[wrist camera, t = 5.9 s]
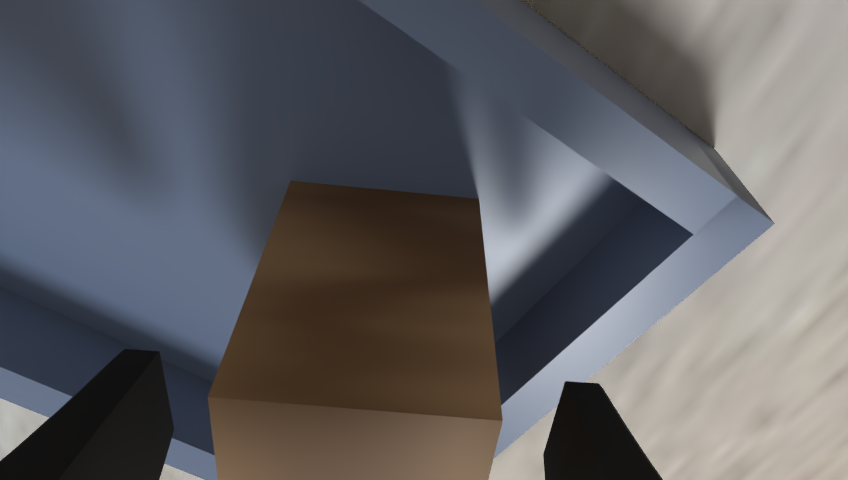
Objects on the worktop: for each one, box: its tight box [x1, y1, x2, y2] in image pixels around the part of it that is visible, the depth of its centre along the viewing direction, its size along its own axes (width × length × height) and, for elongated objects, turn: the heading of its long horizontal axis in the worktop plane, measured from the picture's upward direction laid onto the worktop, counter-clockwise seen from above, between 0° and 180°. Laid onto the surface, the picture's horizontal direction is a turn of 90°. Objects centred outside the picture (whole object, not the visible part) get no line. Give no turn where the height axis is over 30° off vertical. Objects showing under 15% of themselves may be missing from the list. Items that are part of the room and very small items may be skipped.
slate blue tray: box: [0, 0, 774, 480], centre depth 14 cm, size 16×13×3 cm
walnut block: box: [208, 181, 503, 480], centre depth 12 cm, size 4×4×6 cm
